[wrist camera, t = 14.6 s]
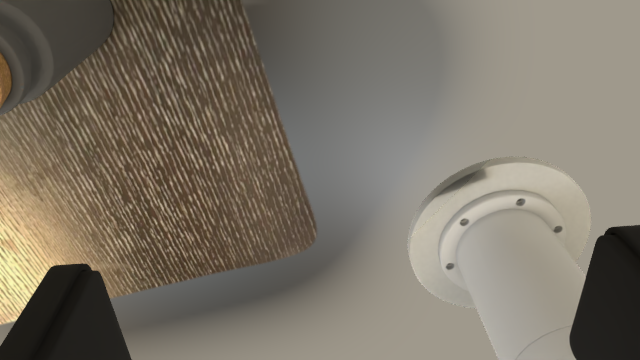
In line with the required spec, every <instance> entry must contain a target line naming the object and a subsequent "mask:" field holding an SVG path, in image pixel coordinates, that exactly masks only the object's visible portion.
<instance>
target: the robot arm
mask: <svg viewBox="0 0 640 360" xmlns="http://www.w3.org/2000/svg"><path fill="white" fill-rule="evenodd" d="M565 241H566V227H565V223H564V219H563V218H562V216H561V215H560V213H559V211H558V210H557V209H556V208H555V207H554V205H553V204H552V203H551V202H549V201H548V200H547V199H545V198H544V197H542V196H540V195H537V194H535V193H532V192H528V191H523V190H506V191H498V192H494V193H491V194H487V195H484V196H482V197H480V198H478V199H475V200H473V201H472V202H470V203H469V204H467V205H466V206H464V207H463V208H461V209H460V210H459V211H458V212H457V213H456V214H455V215H454V216H453V217H452V218H451V219H450V221H449V222H448V223H447V225H446V226H445V228H444V230H443V232H442V234H441V237H440V241H439V247H438V254H439V260H440V263H441V266H442V269H443V271H444V272H445V274H446V275H447V277H448V278H449V279H450V280H451V281H452V282H453V283H454V284H455V285H457V286H458V287H460V288H462V289H464V290H467V291H469V292H470V295H471V297H472V299H473V302H474V304H475V306H476V309H477V311H478V313H479V316H480V318H481V320H482V323H483V325H484V327H485V330H486V332H487V334H488V337H489V339H490V341H491V344H492V346H493V348H494V351H495V353H496V355H497V358H498V360H640V225H635V226H620V227H611V228H609V229H608V230H607V231H606V232H605V234H604V235H603V236H600V237H599V238H598V239H597V241H596V244H595V247H594V251H593V254H592V258H591V261H590V265H589V268H588V272H587V276H585V275H584V273H583V272H582V270H581V269H580V268H579V266H578V265H577V264H576V262H575V261H574V260H573V258H572V257H571V256H570V254H569V253H568V252H567V250H566V249H565V248H564V245H565ZM0 360H131V357H130V354H129V351H128V349H127V346H126V343H125V340H124V337H123V335H122V332H121V329H120V327H119V324H118V321H117V318H116V315H115V312H114V309H113V307H112V304H111V301H110V298H109V295H108V293H107V290H106V287H105V284H104V281H103V279H102V276H101V274H100V273H99V272H98V271H92V270H91V268H90V266H89V265H88V264H70V265H56V266H53V267H51V268H50V269H49V271H48V272H47V274H46V275H45V277H44V278H43V280H42V281H41V283H40V285H39V286H38V288H37V289H36V291H35V292H34V294H33V296H32V297H31V299H30V300H29V302H28V303H27V305H26V307H25V308H24V310H23V311H22V313H21V315H20V316H19V318H18V319H17V321H16V322H15V324H14V326H13V327H12V329H11V330H10V332H9V333H8V335H7V337H6V338H5V340H4V341H3V343H2V345H1V346H0Z"/></svg>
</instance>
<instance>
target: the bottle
mask: <svg viewBox="0 0 640 360" xmlns="http://www.w3.org/2000/svg"><path fill="white" fill-rule="evenodd" d="M113 21H114V16H113V9H112V5H111V2H110V0H0V115H2V114H5V113H7V112H9V111H11V110H12V109H13V108H15V107H16V106H17V105H18V104H21V103H26V102H29V101H31V100H34V99H36V98H38V97H39V96H41V95H42V94H44V93H45V92H46V91H47V90H49V89H50V88H51V87H52V86H54V85H55V84H56V83H57V82H58V81H60V80H61V79H62V78H63V77H64V76H66V75H67V74H68V73H69V72H70V71H72V70H73V69H74V68H75V67H76V66H77V65H79V64H80V63H81V62H82V61H83V60H85V59H86V58H87V57H88V56H89V55H91V54H92V53H93V52H94V51H95V50H97V49H98V48H99V47H100V46H101V45H102V44H103V43H104V42H105V41H106V40H107V38H108V37H109V35H110V33H111V30H112V27H113Z"/></svg>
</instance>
